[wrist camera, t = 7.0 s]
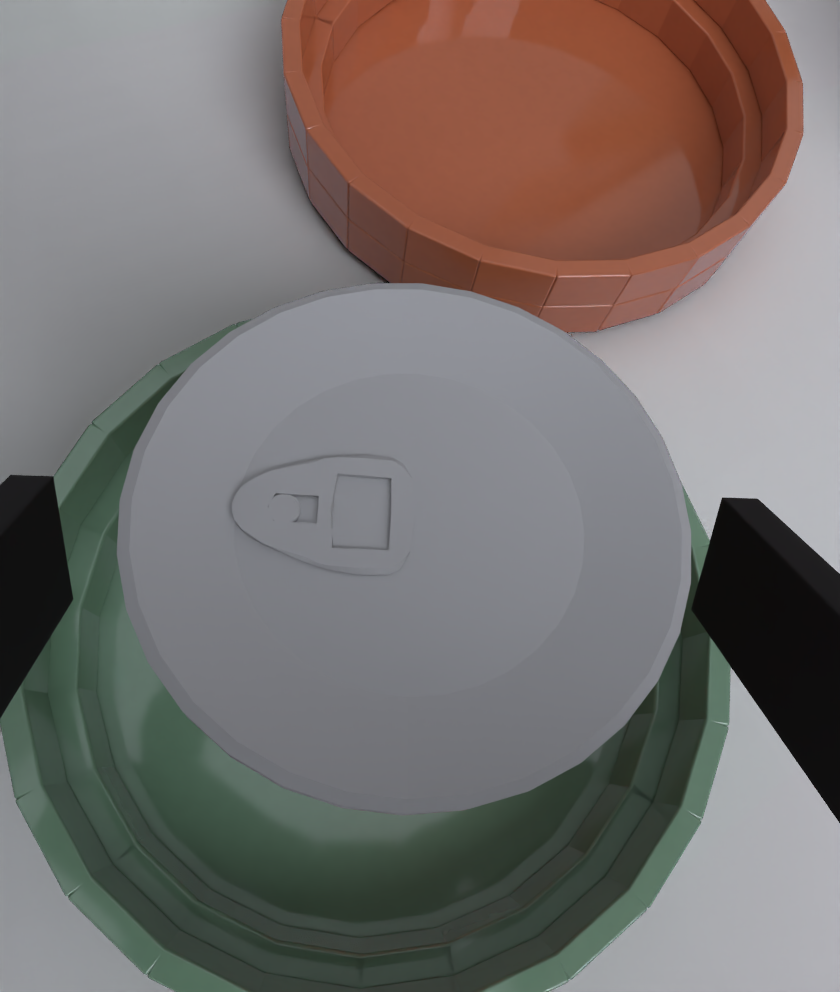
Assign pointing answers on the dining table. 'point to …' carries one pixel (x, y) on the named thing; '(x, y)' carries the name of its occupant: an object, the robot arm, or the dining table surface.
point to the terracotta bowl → (543, 142)
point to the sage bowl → (327, 806)
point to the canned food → (404, 548)
